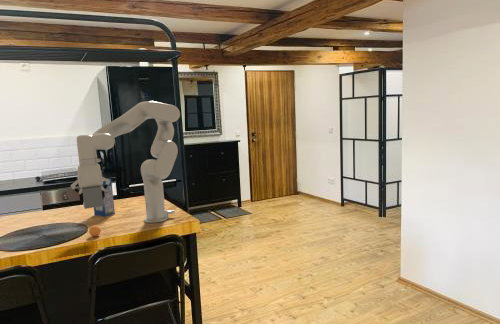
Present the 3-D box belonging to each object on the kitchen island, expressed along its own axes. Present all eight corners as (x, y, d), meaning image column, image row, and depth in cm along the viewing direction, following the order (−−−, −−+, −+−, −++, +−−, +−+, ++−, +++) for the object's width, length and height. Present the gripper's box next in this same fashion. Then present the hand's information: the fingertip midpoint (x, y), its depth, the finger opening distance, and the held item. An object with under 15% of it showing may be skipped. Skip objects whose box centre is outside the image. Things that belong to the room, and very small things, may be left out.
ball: (100, 226, 165) (101, 237, 166) (100, 223, 170) (101, 233, 171) (88, 228, 164) (89, 238, 165) (88, 224, 168) (89, 234, 169)
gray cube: (101, 202, 171) (99, 184, 170) (103, 205, 164) (101, 186, 163) (83, 205, 168) (81, 186, 166) (84, 208, 161) (82, 189, 160)
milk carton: (115, 214, 206) (111, 179, 203) (105, 217, 201) (101, 181, 198) (104, 212, 211) (100, 178, 209) (94, 215, 206) (90, 180, 204)
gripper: (107, 159, 171) (111, 196, 173) (66, 163, 163) (71, 202, 165) (110, 161, 164) (114, 199, 166) (67, 165, 156) (71, 205, 158)
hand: (92, 200), depth 166 cm, fingers closed on gray cube, 7 cm apart
